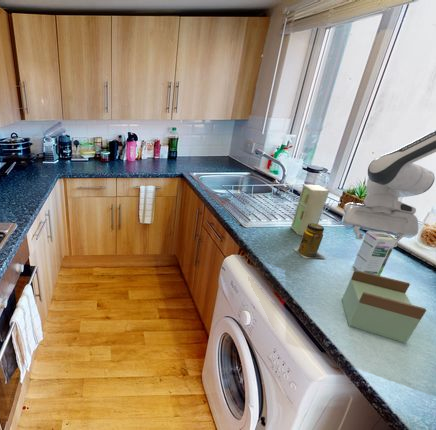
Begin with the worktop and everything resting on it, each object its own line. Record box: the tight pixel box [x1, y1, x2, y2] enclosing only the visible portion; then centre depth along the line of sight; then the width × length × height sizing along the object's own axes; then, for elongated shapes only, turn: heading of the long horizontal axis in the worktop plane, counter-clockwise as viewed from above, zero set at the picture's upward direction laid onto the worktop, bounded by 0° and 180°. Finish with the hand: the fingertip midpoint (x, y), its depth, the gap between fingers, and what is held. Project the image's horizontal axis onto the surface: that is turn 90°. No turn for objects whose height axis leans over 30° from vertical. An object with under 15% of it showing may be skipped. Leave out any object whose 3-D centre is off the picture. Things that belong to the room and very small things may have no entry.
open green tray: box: [341, 269, 427, 344], centre depth 78 cm, size 12×12×11 cm
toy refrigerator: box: [290, 184, 330, 236], centre depth 124 cm, size 8×7×21 cm
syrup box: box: [352, 230, 397, 276], centre depth 99 cm, size 6×6×14 cm
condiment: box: [293, 223, 326, 259], centre depth 109 cm, size 7×8×12 cm
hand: (375, 242), depth 99 cm, fingers open, 8 cm apart
